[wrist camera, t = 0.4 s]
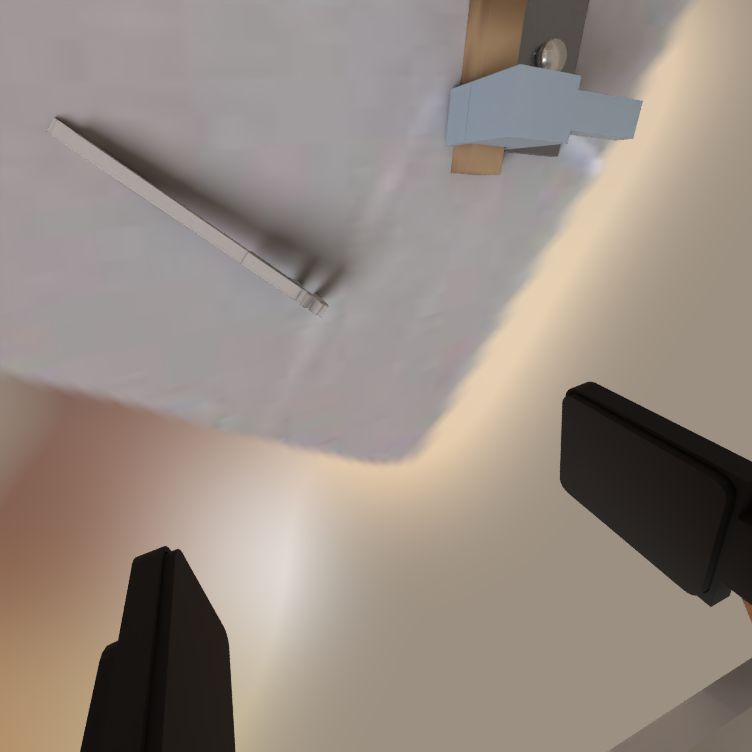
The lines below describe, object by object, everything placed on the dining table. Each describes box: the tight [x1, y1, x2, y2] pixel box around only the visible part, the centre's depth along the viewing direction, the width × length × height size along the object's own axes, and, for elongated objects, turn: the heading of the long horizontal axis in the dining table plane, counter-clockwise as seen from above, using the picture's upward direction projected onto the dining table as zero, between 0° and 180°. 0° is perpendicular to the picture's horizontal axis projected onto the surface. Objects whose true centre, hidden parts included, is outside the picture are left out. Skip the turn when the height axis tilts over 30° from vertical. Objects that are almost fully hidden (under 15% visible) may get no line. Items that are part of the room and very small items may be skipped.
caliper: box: [47, 118, 328, 317], centre depth 30 cm, size 21×1×6 cm, turn 52°
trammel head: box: [445, 64, 643, 150], centre depth 33 cm, size 4×11×9 cm, turn 87°
